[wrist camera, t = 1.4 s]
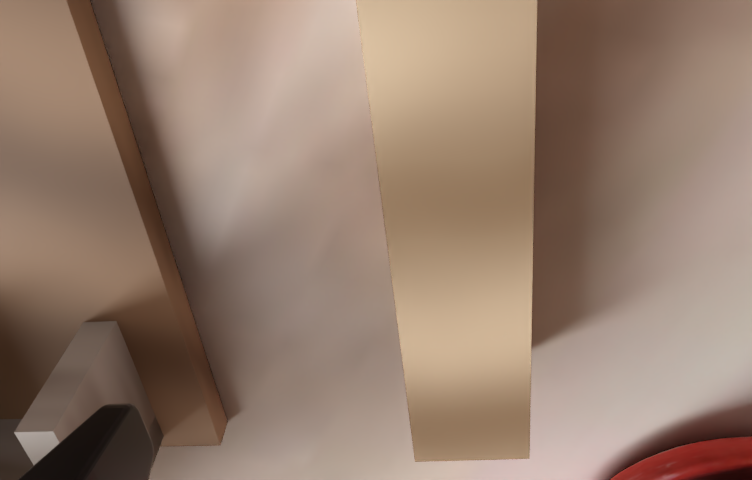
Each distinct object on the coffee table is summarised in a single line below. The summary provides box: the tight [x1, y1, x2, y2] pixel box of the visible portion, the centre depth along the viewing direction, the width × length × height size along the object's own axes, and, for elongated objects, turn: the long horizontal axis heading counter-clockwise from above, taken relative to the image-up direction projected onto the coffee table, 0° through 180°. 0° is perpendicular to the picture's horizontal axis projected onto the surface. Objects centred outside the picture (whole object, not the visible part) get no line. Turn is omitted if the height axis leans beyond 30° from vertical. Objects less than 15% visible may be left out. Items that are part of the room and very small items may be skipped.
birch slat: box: [356, 0, 537, 462], centre depth 15 cm, size 16×3×4 cm, turn 7°
